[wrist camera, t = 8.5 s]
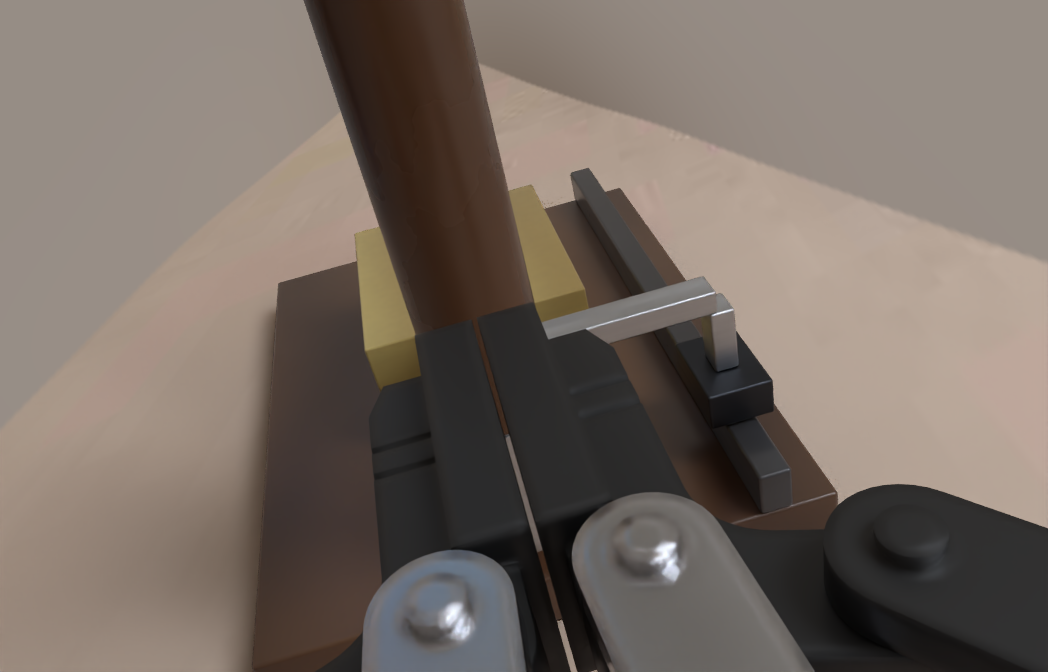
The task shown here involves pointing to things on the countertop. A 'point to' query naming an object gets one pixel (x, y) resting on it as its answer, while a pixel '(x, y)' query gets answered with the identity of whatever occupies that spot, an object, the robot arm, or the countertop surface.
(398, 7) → the wooden handled slicer
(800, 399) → the countertop surface
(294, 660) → the butter board
